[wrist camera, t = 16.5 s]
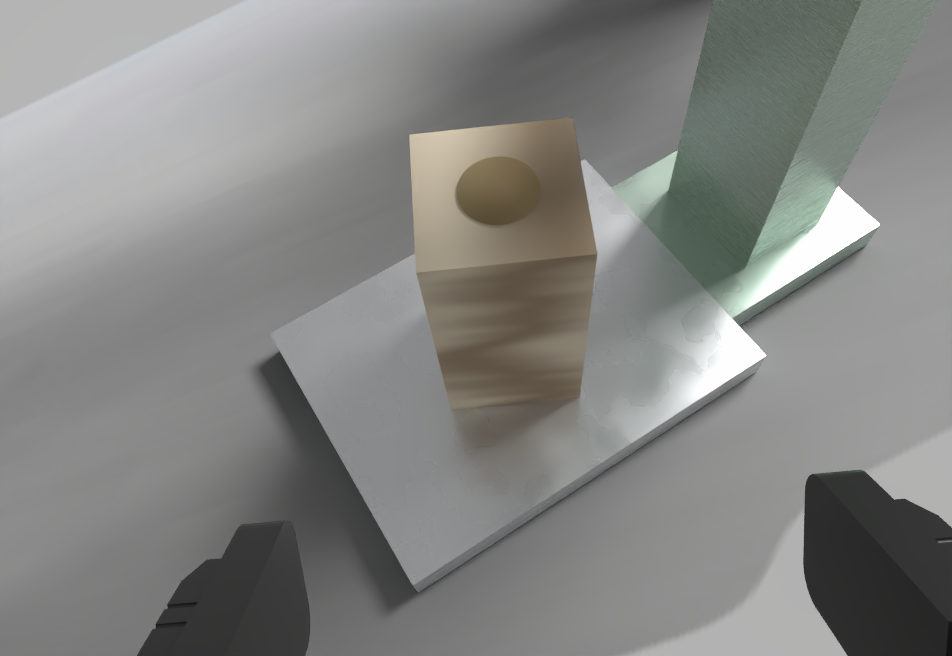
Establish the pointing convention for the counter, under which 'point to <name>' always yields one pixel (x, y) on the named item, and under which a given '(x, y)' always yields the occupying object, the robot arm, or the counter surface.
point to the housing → (504, 259)
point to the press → (622, 287)
